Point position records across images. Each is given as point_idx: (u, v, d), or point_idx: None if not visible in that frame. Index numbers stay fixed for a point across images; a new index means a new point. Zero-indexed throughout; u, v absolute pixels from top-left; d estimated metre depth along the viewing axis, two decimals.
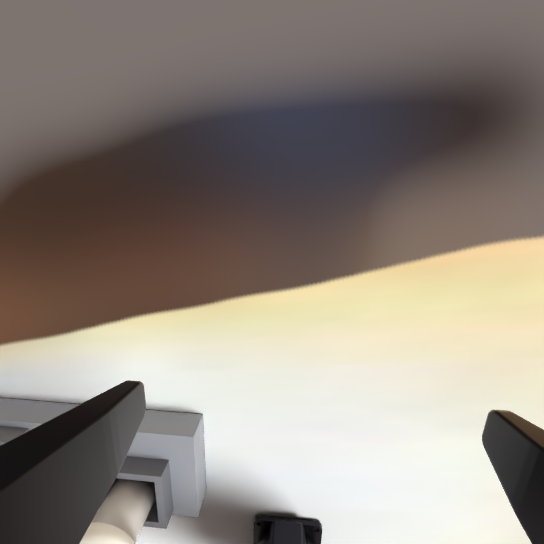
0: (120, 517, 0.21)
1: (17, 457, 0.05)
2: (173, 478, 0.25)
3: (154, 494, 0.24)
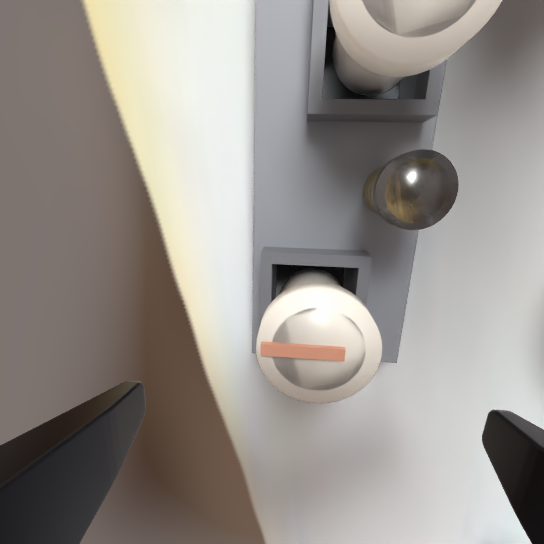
0: None
1: (17, 457, 0.05)
2: None
3: None
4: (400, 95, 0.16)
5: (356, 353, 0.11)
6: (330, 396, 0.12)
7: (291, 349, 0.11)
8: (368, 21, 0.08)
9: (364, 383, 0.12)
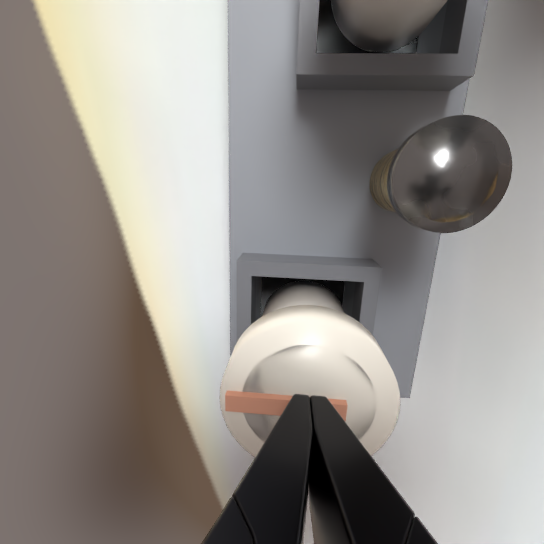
0: None
1: (282, 484, 0.05)
2: None
3: None
4: None
5: (362, 409, 0.08)
6: None
7: (269, 403, 0.08)
8: None
9: (373, 449, 0.08)
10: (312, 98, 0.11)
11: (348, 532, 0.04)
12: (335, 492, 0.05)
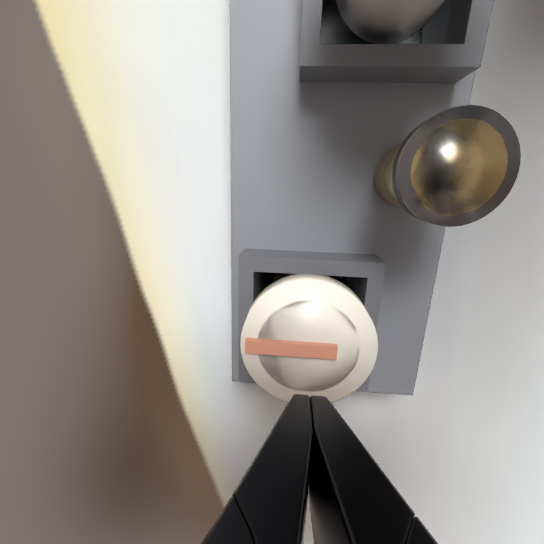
0: None
1: (282, 484, 0.05)
2: None
3: None
4: None
5: (349, 351, 0.10)
6: None
7: (278, 346, 0.10)
8: None
9: (358, 384, 0.11)
10: (315, 91, 0.11)
11: (348, 532, 0.04)
12: (335, 492, 0.05)
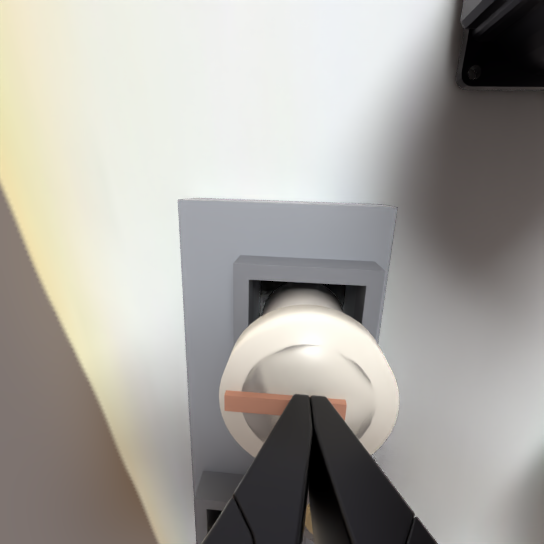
0: None
1: (282, 484, 0.05)
2: (286, 250, 0.12)
3: (301, 283, 0.12)
4: None
5: None
6: None
7: None
8: (256, 442, 0.08)
9: None
10: None
11: (348, 532, 0.04)
12: (335, 492, 0.05)
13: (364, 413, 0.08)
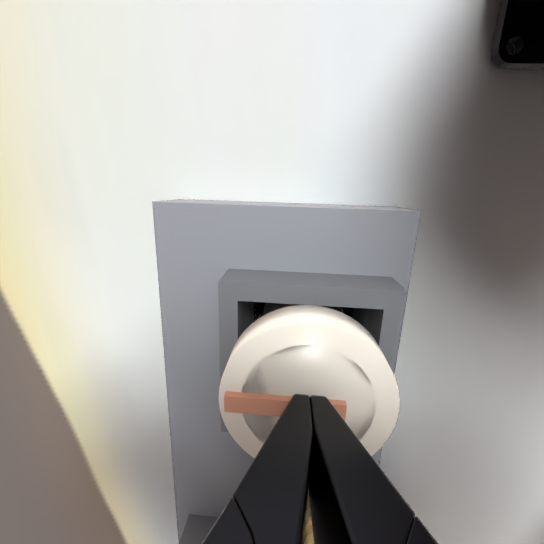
0: None
1: (282, 484, 0.05)
2: (284, 263, 0.10)
3: None
4: None
5: None
6: None
7: None
8: (256, 442, 0.08)
9: None
10: None
11: (348, 532, 0.04)
12: (335, 492, 0.05)
13: (364, 414, 0.08)
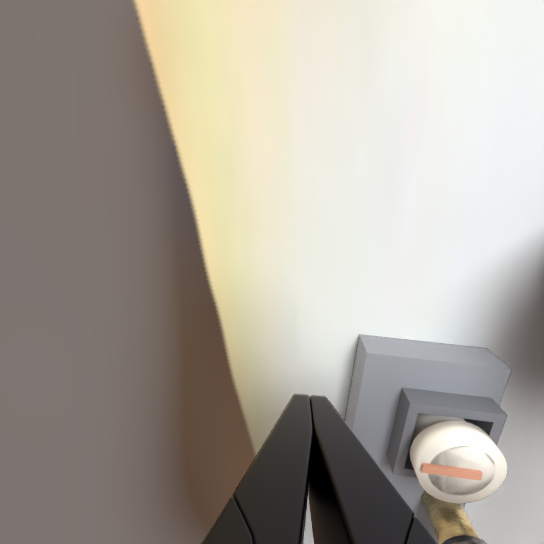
0: (420, 427, 0.19)
1: (282, 484, 0.05)
2: (433, 387, 0.19)
3: None
4: None
5: None
6: None
7: None
8: (431, 486, 0.17)
9: None
10: None
11: (348, 532, 0.04)
12: (335, 492, 0.05)
13: (488, 477, 0.17)
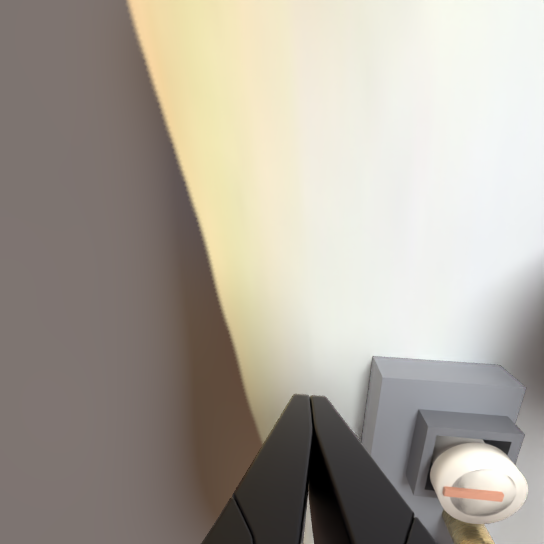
0: (438, 449, 0.19)
1: (281, 484, 0.05)
2: (450, 407, 0.19)
3: None
4: None
5: None
6: None
7: None
8: (454, 508, 0.17)
9: None
10: None
11: (348, 532, 0.04)
12: (335, 492, 0.05)
13: (510, 497, 0.17)
